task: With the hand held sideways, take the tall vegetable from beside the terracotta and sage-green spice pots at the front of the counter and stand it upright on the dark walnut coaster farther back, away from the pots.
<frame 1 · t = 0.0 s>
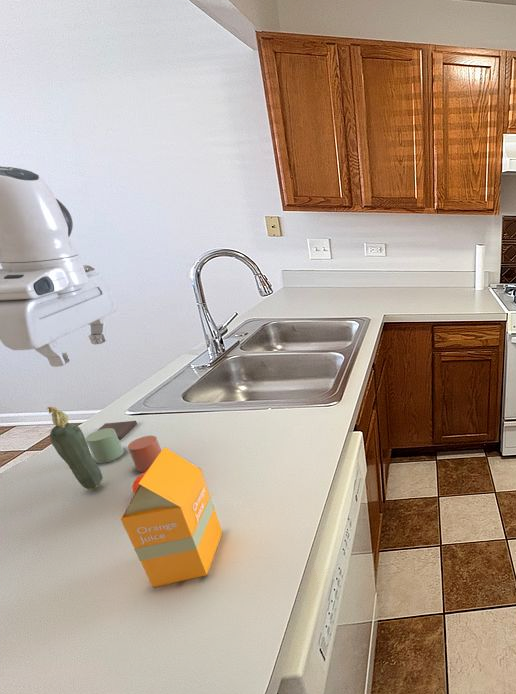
hand: (81, 353, 69), 31 cm above the table, tool pointing down, fingers open, 8 cm apart
terracotta pot: (151, 464, 89), on the table
vegetable: (94, 491, 82), on the table
coaster: (113, 433, 100), on the table
orange juice: (190, 558, 67), on the table
sage pot: (109, 455, 92), on the table
pumpkin: (162, 492, 81), on the table
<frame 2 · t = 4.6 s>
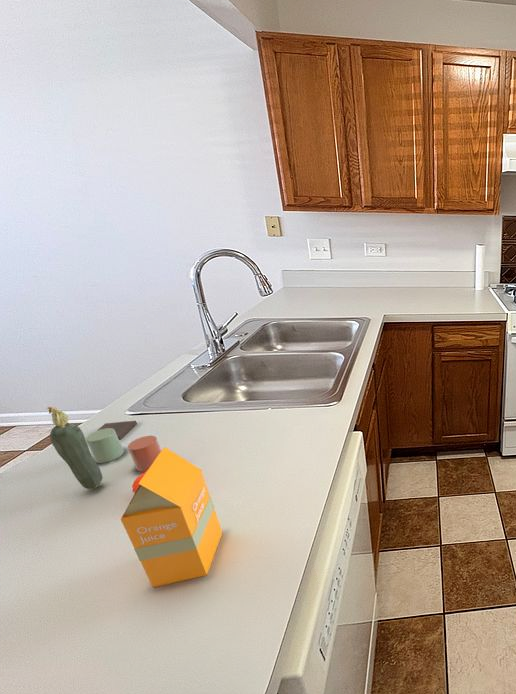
nothing on the table moved.
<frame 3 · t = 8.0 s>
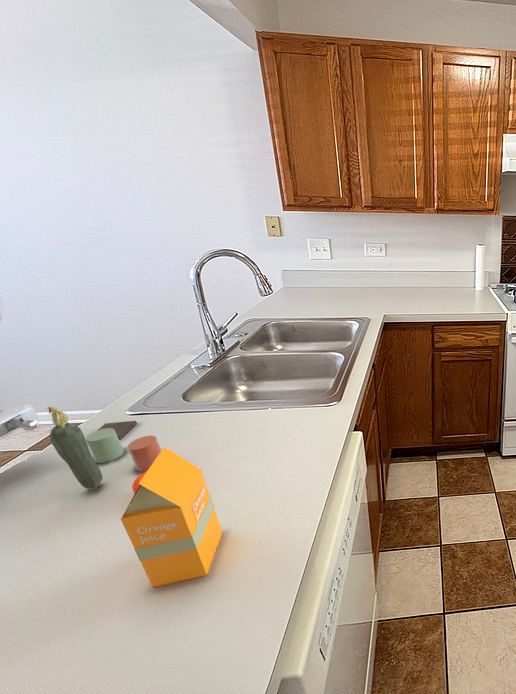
hand: (10, 438, 77), 13 cm above the table, tool horizontal, fingers open, 8 cm apart
nothing on the table moved.
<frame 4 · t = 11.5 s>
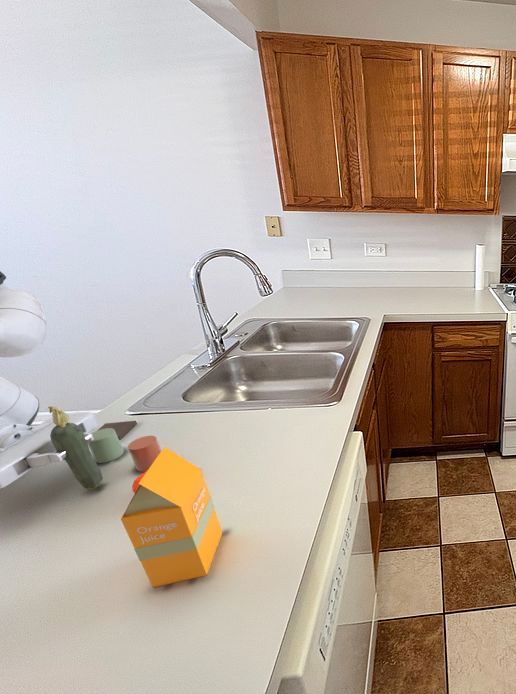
hand: (76, 447, 77), 11 cm above the table, tool horizontal, fingers closed on vegetable, 4 cm apart
vegetable: (93, 491, 81), on the table, touching gripper
everything else where it was.
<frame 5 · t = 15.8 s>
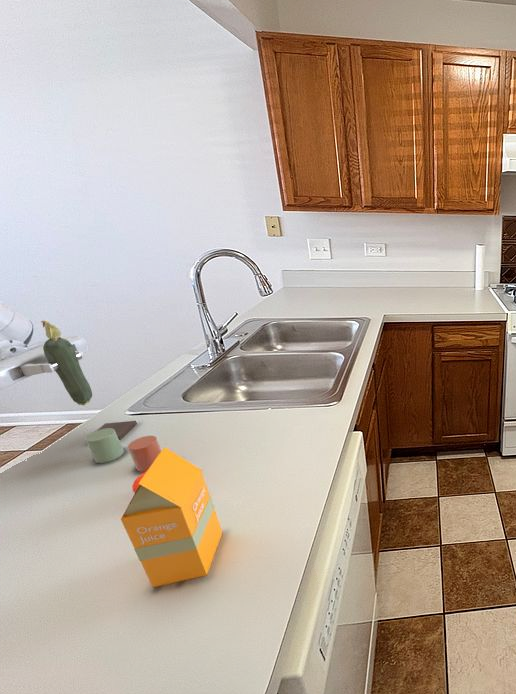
hand: (67, 361, 83), 24 cm above the table, tool horizontal, fingers closed on vegetable, 4 cm apart
vegetable: (84, 407, 87), point 13 cm above the table, touching gripper
everything else where it was.
when the fingers open (12 cm above the table, at t = 20.5 s): vegetable stays where it is, resting on coaster.
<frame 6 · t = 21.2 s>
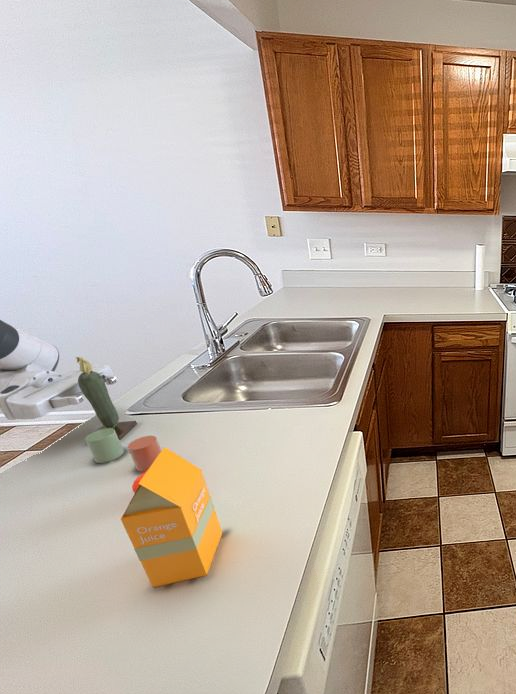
hand: (98, 389, 95), 13 cm above the table, tool horizontal, fingers open, 8 cm apart
vegetable: (112, 430, 100), point 1 cm above the table, touching coaster
everything else where it was.
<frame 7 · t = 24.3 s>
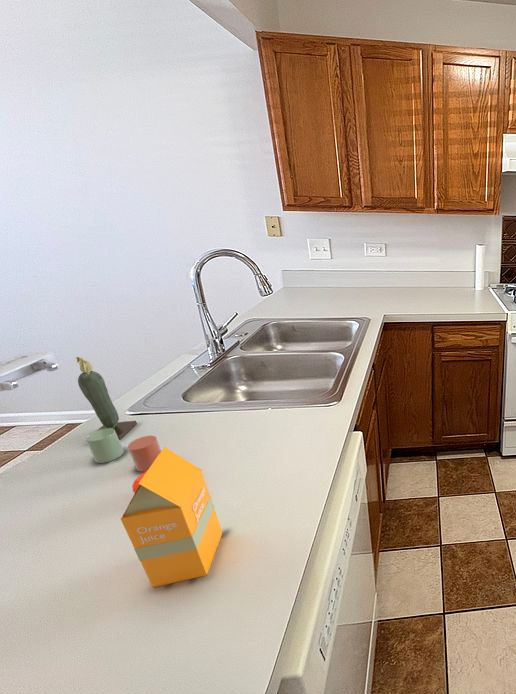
hand: (35, 375, 93), 17 cm above the table, tool horizontal, fingers open, 8 cm apart
nothing on the table moved.
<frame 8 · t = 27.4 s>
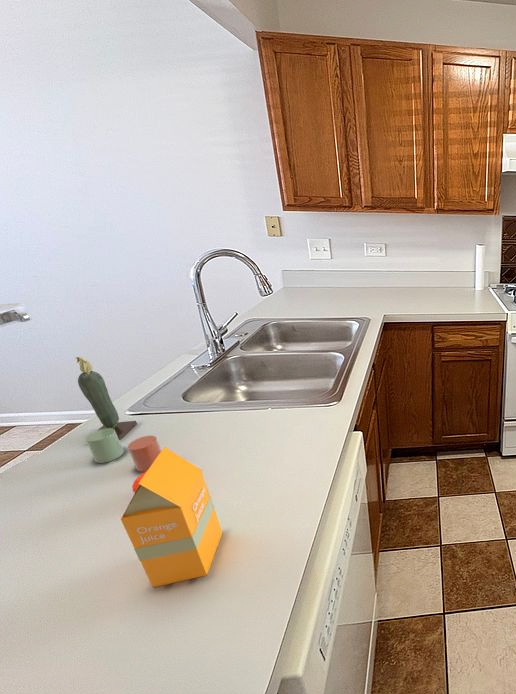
hand: (4, 324, 86), 30 cm above the table, tool horizontal, fingers open, 8 cm apart
nothing on the table moved.
at the end: vegetable 0.1 cm off-centre on the coaster, point 0.8 cm above the coaster's base; vegetable tilted 0°; sage pot moved 0.0 cm from its start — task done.
